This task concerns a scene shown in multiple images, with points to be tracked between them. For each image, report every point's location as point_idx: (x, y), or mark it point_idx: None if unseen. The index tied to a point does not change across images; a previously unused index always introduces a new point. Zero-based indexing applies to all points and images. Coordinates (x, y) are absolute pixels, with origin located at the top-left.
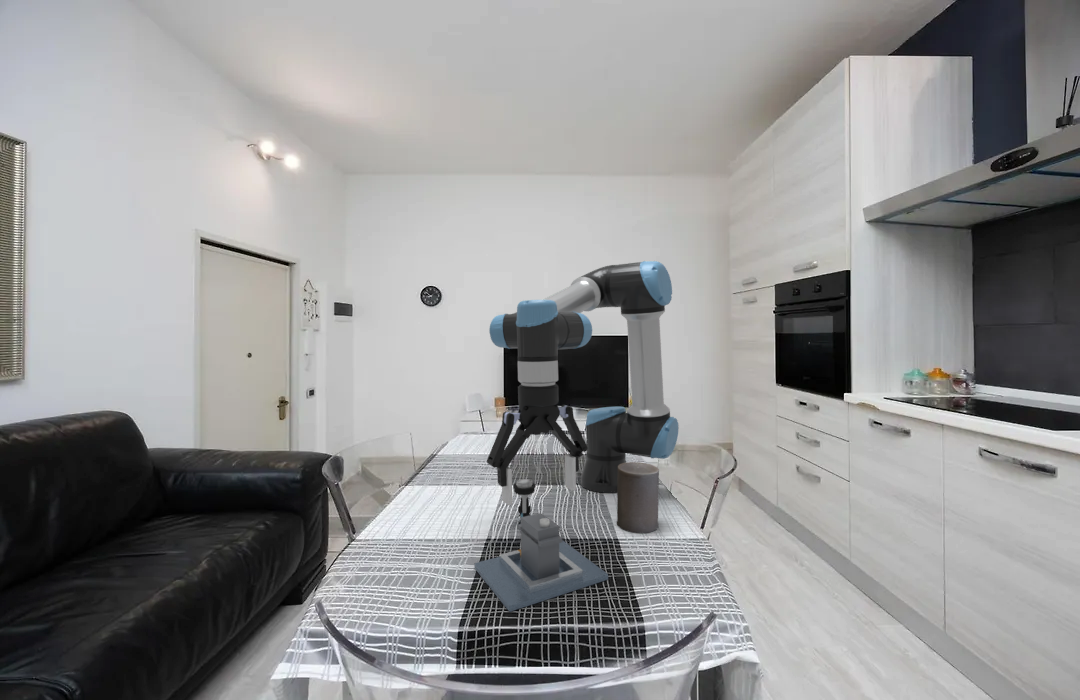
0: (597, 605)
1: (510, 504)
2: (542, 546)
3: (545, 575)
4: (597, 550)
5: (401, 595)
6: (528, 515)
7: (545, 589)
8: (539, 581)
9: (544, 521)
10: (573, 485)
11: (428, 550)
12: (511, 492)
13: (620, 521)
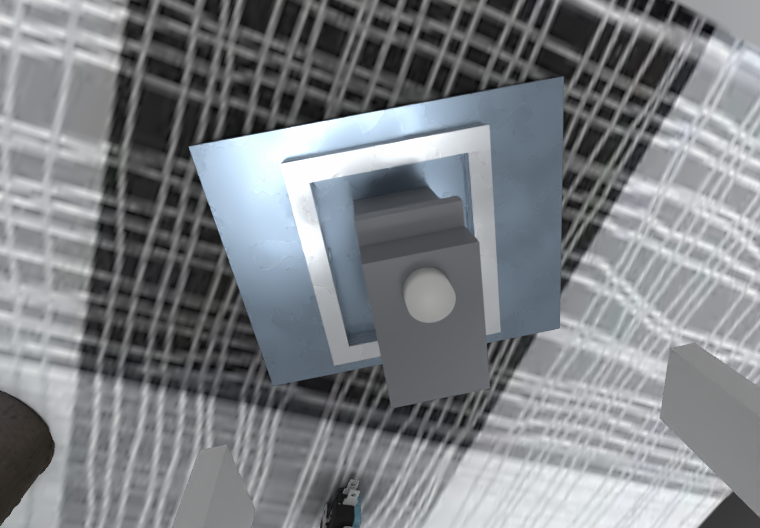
0: (285, 4)
1: (684, 348)
2: (452, 198)
3: (405, 193)
4: (173, 321)
5: (752, 251)
6: (338, 517)
7: (428, 128)
8: (448, 143)
9: (439, 285)
10: (209, 480)
11: (618, 425)
12: (746, 402)
13: (33, 445)
